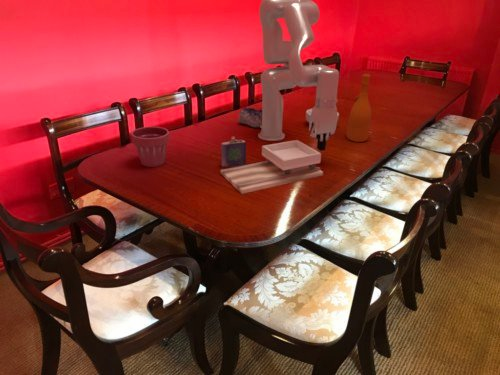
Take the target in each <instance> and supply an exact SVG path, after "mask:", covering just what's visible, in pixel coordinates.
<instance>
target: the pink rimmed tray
mask: <svg viewBox="0 0 500 375" xmlns="http://www.w3.org/2000/svg"><path fill="white" fill-rule="evenodd" d="M261 156H262V157H264V158H265V160H266V161H269V162H270V161H271V162H272V163H274V164H275V165H277V166H278V167H279V168H281V169H282V170H283V172H284V173H285V174H289V173H290V172H291V169H293V168H298V167H303V166H307V165H308V166H309V168H311V169H314V168H315V167H317V165H318V164H320V163H321V160H322V159H321V158H322V153H321V152H320V151H318V150H316V149H314V148H312V147H310V146H309V145H308V144H305V143H304V142H302V141H300V140H298V139H295V140H290V141H283V142H278V143H277V142H276V143H272V144H266V145H261ZM316 164H317V165H316Z"/></svg>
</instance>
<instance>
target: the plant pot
mask: <svg viewBox="0 0 500 375" xmlns="http://www.w3.org/2000/svg"><path fill="white" fill-rule="evenodd" d="M130 133H131V134H130V135H131V136H130V137H131V143H132V144H133V146H135V149H136V152H137V155H138V157H139V160H140V164H141V165H142V166H145V167H149V168H154V167H160V166H161V165H164V163H165V161H166V155H167V150H168V149H167V148H168V143H169V142H170V132H169V129H167V128H165V127H160V126H143V127H139V128H136V129H134V130H133V131H131V132H130Z"/></svg>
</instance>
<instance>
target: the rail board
mask: <svg viewBox="0 0 500 375" xmlns="http://www.w3.org/2000/svg"><path fill="white" fill-rule="evenodd" d="M220 175H222V177H224V178H225V179H226V180H227V181H228V182H229V183H230V184H231V185H232V186H233V188H235V189H236V190H237V191H238V192H239V193H240V194H241V195H244V194H248V193H251V192H256V191H261V190H265V189H269V188H275V187H278V186H282V185H287V184H291V183H296V182H299V181H305V180H308V179H313V178H318V177H322V176H324V171H322V170H321V167H319V166H315V168H314V169H311V168H309V166H308V165H307V166H303V167H298V168H293V169H291V172H290V173H289V174H285V173H284V172H283V170H282V169H281V168H279V167H278V166H277V165H275V164H274V163H272V162H271V161H270V162H269V161H267V160H266V161H261V162H256V163H250V164H245V165H238V166H233V167H230V168H229V167H228V168H225V169H224V168H223V169H220Z"/></svg>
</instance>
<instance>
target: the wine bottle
mask: <svg viewBox="0 0 500 375" xmlns="http://www.w3.org/2000/svg"><path fill="white" fill-rule="evenodd" d="M370 79H371V75H370V74H369V73H364V74H362V79H361V89H360V92H359V94H358V95H357V96H355V99H354V101H353V106H352V108H351V109H350V112H349V115H348V122H347V123H348V124H347V133H346V138H347V139H348V141H349V140H350V141H352V142H354V143H357V142H358V143H362V142H363V143H364V142H366V141H367V140H368V138H369V134H370V130H371V129H370V128H371V125H372V124H371V121H372V108H371V105H370V104H371V103H370V101H369V96H368V95H369V94H368V91H369V85H370Z"/></svg>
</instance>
